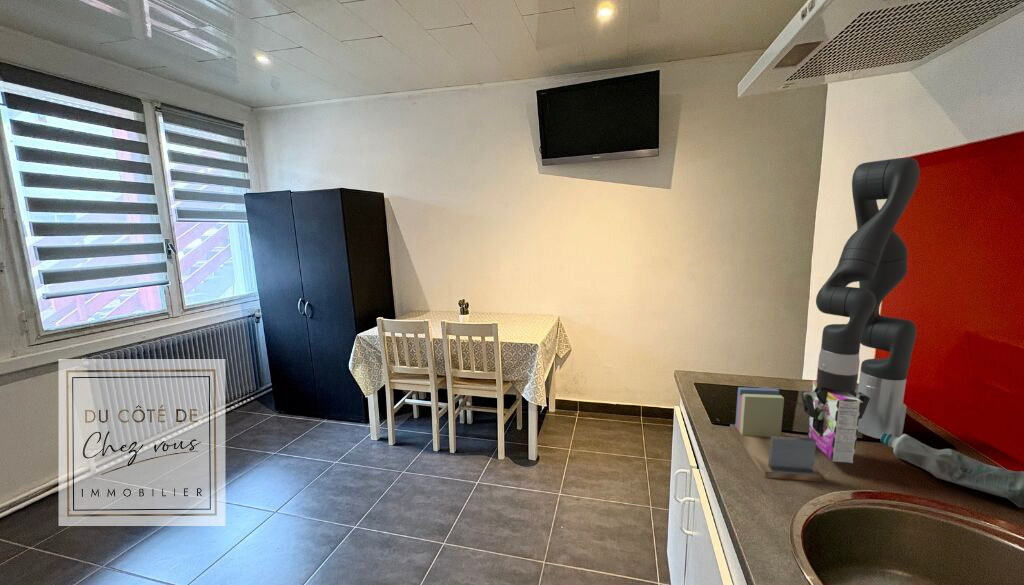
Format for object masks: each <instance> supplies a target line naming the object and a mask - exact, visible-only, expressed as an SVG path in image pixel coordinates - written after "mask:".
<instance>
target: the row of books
mask: <svg viewBox="0 0 1024 585" xmlns="http://www.w3.org/2000/svg"><path fill="white" fill-rule="evenodd" d="M736 395H737V397H736V398H737V399H736V410H735V423H734V424H735V426H736V428H737V429H738V430H739V432H740V433H741V434H742V435H746V436H763V437H771V436H777V437H781V433H782V427H783V426H782V424H783V415H784V405H785V397H784V396H782V395H781V394H780V389H778V388H773V387H747V386H746V387H744V386H742V387H741V386H740V387H737V394H736Z"/></svg>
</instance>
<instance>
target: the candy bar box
mask: <svg viewBox="0 0 1024 585" xmlns="http://www.w3.org/2000/svg"><path fill="white" fill-rule="evenodd" d="M816 380H817V379H815V380H814V379H813V380H812V386H811V392H814V390H815V389H816V387H817V382H816ZM817 400H818V398H817V397H815V401H814V402H813V404H814V409H815V404H816V402H817ZM825 404H827V411H826V412H825V416H824V418H823V420H824V424H823V433H818V432H817V431H815V429H814V428H813V426H812V425H813V418H812V417H810V416H809V419H808V428H807V429H808V431H807V438H813V439H814V440H815V441H816V447H817V448H818V449H819V450H820V451H821V452H822V453H823V454H824V455H825V456H826V457H827V458H828V459H829V461H830V462H833V463H846V464H847V463H848V464H854V461H855V453H856V448H857V447H856V446H857V445H856V444H857V439H858V438H857V437H858V432H859V431H858V422H859V414H860V406H861V400H859V399H858V398H857V397H855V396H854V395H852V394H851V393H849V392H839V391H828V392H827V397H826V403H825ZM820 405H821V406H822V407H824V406H825V405H823V404H822V403H821V402H820Z"/></svg>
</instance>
